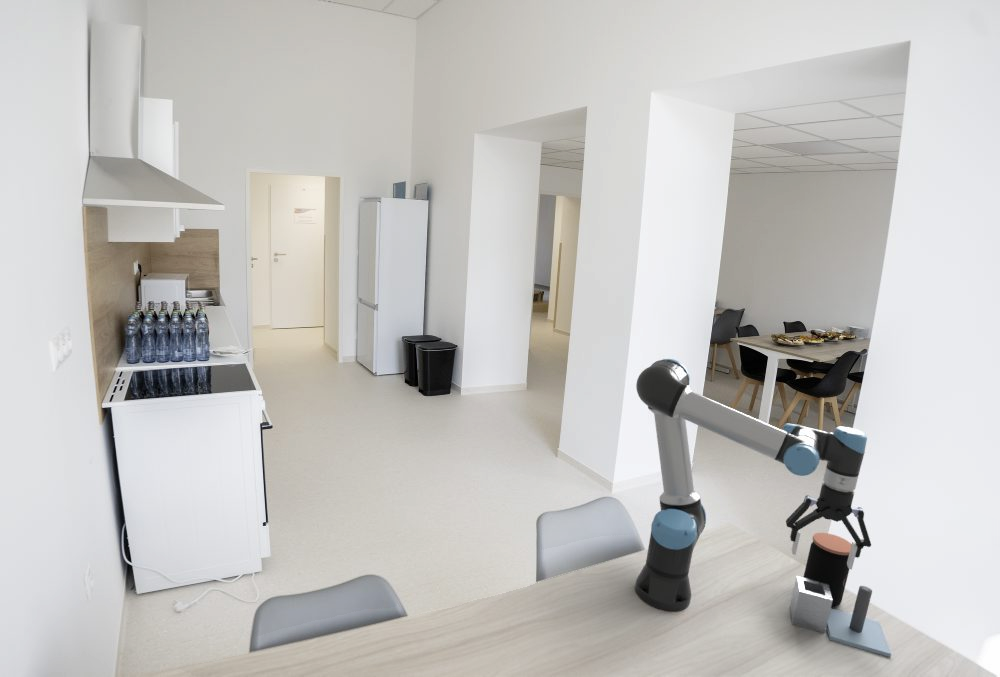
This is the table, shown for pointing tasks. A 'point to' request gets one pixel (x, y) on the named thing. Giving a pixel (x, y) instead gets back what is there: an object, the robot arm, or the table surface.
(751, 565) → the table surface
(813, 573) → the coffee jar
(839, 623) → the blue base with peg
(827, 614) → the square metal tube
